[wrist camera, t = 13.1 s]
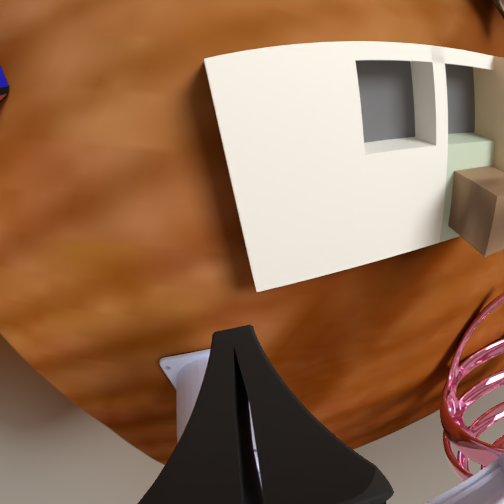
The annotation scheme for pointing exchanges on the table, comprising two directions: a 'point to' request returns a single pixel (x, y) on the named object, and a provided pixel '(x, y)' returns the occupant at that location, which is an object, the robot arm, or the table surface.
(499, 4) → the ceramic sculpture
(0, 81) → the puzzle cube
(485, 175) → the walnut block
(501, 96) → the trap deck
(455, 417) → the spiral basket
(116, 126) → the table surface
